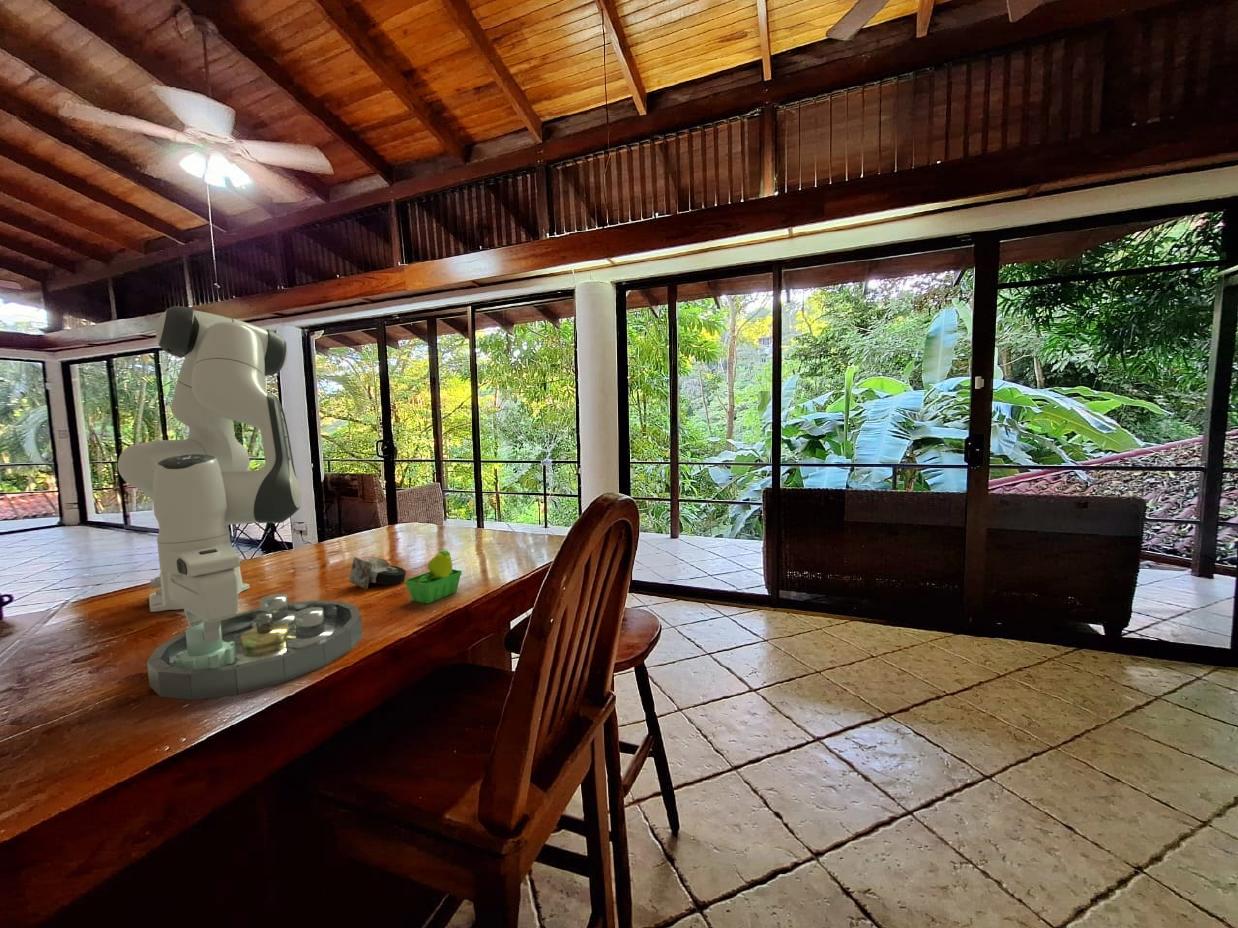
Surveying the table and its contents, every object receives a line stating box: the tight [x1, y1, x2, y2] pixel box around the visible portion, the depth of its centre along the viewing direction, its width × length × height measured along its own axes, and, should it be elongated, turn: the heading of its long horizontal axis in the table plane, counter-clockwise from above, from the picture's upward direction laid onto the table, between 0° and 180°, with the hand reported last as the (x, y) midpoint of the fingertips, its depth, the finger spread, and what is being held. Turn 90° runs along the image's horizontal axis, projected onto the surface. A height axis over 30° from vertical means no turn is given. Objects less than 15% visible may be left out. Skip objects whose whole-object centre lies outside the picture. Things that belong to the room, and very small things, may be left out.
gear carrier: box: [146, 593, 363, 701], centre depth 86 cm, size 30×30×8 cm
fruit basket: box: [404, 550, 463, 604], centre depth 113 cm, size 11×9×11 cm
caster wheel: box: [348, 556, 407, 590], centre depth 125 cm, size 7×11×10 cm
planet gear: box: [174, 624, 236, 669], centre depth 79 cm, size 8×8×6 cm
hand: (204, 636), depth 79 cm, fingers open, 5 cm apart
